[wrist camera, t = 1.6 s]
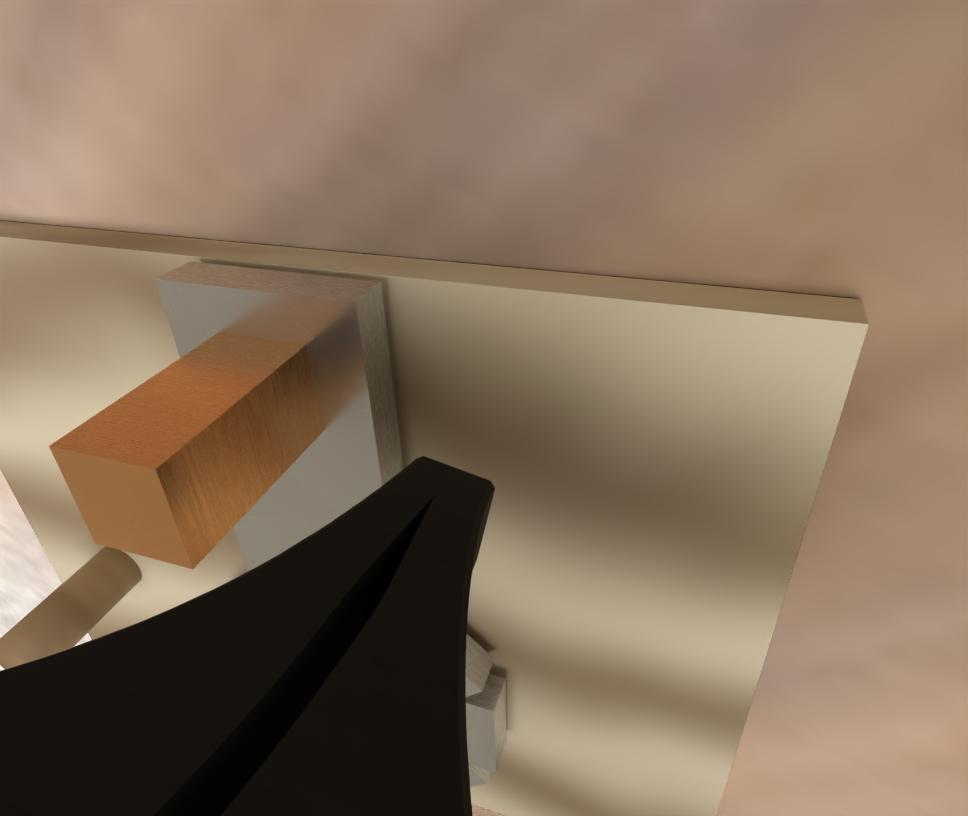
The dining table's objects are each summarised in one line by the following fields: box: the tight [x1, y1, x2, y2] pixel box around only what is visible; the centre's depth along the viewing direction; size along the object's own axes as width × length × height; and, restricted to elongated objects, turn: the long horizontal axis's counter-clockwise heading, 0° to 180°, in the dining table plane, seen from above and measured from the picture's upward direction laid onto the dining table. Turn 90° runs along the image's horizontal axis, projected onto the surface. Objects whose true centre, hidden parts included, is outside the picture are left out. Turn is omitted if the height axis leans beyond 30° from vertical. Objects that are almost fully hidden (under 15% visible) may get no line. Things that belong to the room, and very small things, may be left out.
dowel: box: [0, 547, 142, 669], centre depth 20 cm, size 2×2×4 cm
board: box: [0, 221, 869, 816], centre depth 19 cm, size 19×23×1 cm
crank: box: [49, 262, 507, 787], centre depth 16 cm, size 17×9×5 cm, turn 2°
